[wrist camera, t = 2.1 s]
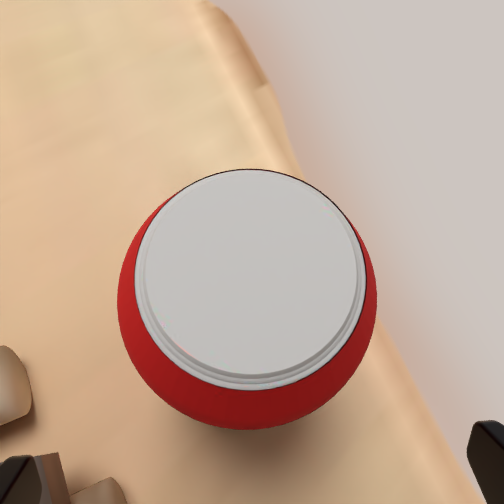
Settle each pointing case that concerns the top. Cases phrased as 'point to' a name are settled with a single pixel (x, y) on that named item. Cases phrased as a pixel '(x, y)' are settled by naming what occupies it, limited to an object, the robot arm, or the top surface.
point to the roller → (13, 387)
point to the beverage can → (247, 299)
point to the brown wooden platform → (55, 490)
